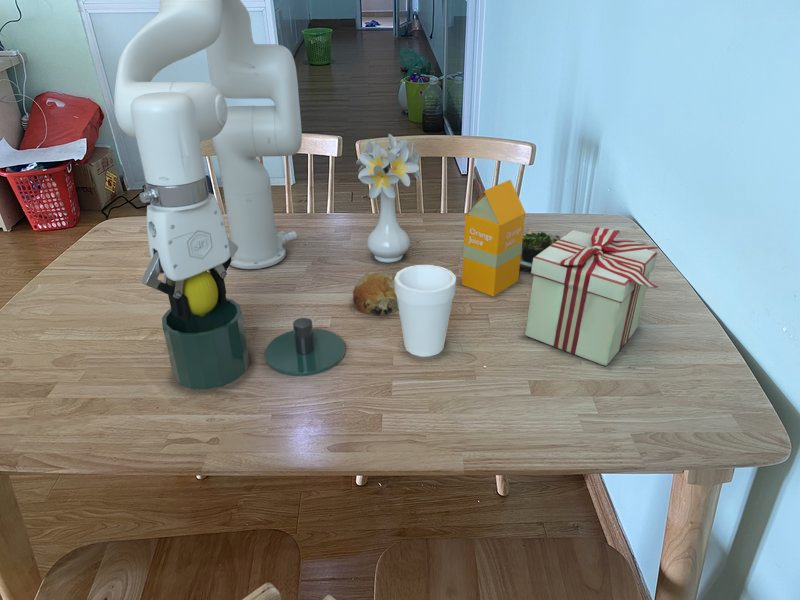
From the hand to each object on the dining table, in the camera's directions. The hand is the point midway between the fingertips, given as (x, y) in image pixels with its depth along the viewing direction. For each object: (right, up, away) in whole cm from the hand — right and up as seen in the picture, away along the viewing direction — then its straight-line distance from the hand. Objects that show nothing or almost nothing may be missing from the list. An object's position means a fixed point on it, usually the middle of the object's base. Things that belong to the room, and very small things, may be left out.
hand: (200, 308), depth 89 cm
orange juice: (+47, +4, +31) cm, 57 cm away
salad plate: (+60, +10, +41) cm, 73 cm away
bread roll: (+25, 0, +23) cm, 34 cm away
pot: (0, -10, +5) cm, 11 cm away
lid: (+14, -7, +8) cm, 18 cm away
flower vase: (+27, +10, +41) cm, 50 cm away
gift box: (+62, -5, +14) cm, 63 cm away
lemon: (0, -1, +1) cm, 2 cm away
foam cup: (+33, -7, +10) cm, 36 cm away
